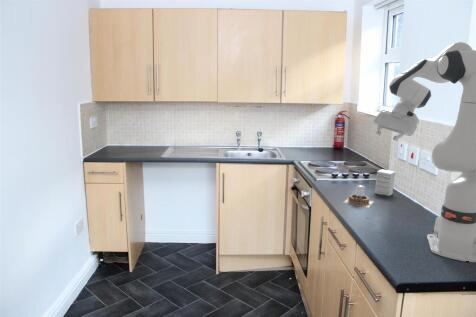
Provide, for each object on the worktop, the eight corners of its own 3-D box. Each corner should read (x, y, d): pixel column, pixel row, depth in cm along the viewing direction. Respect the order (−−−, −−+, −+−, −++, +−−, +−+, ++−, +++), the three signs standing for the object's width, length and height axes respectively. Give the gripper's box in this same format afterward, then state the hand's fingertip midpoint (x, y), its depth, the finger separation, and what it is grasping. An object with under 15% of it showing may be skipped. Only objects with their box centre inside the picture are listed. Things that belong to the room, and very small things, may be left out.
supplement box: (378, 191, 207) (381, 168, 205) (392, 194, 203) (395, 171, 200) (374, 194, 202) (376, 171, 199) (388, 197, 197) (391, 173, 194)
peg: (361, 203, 182) (363, 187, 180) (353, 202, 184) (355, 186, 182) (363, 201, 185) (365, 185, 184) (355, 200, 187) (357, 184, 186)
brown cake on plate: (368, 209, 177) (369, 202, 176) (342, 204, 183) (343, 197, 182) (373, 203, 187) (374, 196, 186) (349, 198, 193) (350, 191, 192)
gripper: (380, 105, 189) (365, 127, 188) (419, 115, 174) (403, 140, 173) (384, 112, 193) (369, 134, 192) (422, 122, 178) (406, 146, 177)
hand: (385, 137), depth 182 cm, fingers open, 8 cm apart
